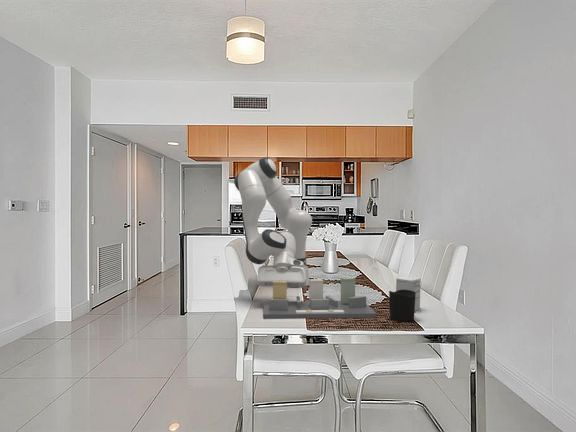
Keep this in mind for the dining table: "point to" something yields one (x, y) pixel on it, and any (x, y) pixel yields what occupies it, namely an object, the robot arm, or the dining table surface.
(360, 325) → the dining table surface
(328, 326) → the dining table surface
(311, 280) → the key cream
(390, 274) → the dining table surface
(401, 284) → the supplement box
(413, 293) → the pen holder
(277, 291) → the key ochre
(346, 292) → the key sage
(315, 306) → the keypad console
